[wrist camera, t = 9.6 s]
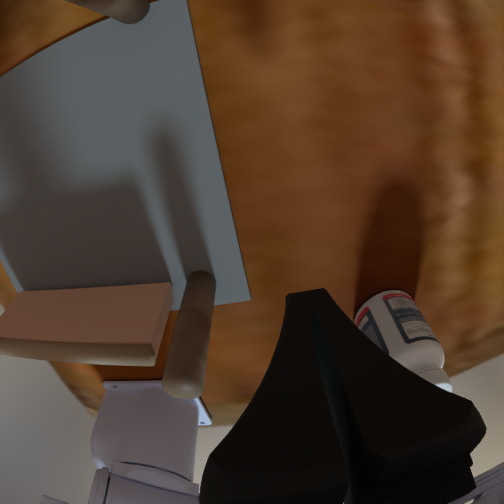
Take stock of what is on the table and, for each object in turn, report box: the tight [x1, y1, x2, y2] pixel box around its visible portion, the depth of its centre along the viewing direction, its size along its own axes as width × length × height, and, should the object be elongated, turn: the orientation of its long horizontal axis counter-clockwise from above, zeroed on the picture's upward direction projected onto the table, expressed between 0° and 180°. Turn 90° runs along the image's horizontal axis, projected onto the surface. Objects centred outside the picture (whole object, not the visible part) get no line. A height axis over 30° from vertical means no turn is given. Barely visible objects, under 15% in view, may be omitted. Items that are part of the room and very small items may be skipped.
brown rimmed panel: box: [0, 282, 174, 366], centre depth 18 cm, size 14×1×7 cm, turn 96°
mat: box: [0, 0, 251, 311], centre depth 18 cm, size 20×20×1 cm
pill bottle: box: [354, 290, 452, 392], centre depth 20 cm, size 5×5×9 cm
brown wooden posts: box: [65, 0, 217, 400], centre depth 13 cm, size 2×20×9 cm, turn 10°
